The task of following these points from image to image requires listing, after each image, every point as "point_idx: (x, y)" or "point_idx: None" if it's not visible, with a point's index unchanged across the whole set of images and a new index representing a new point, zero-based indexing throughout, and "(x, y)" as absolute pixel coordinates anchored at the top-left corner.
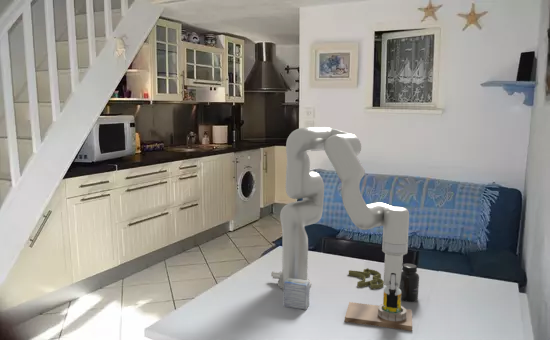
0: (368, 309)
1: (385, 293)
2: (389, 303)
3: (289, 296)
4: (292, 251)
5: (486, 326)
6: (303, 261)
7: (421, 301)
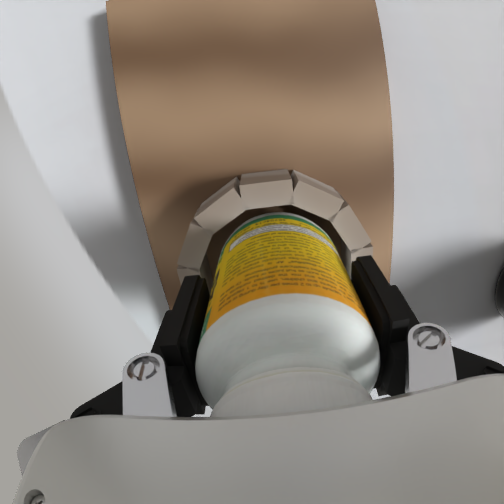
0: (301, 96)
1: (217, 318)
2: (165, 317)
3: None
4: None
5: None
6: None
7: (498, 326)
